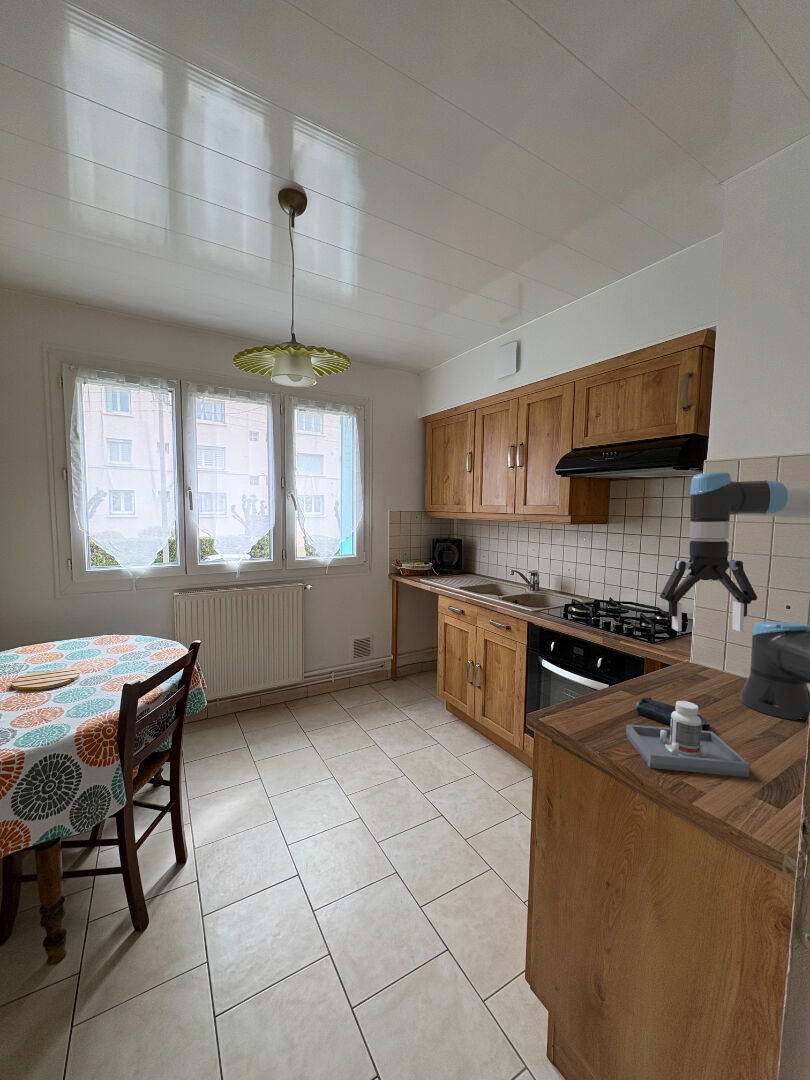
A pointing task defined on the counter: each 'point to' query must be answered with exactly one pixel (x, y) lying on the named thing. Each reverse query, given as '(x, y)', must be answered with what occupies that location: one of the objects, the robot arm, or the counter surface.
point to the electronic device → (661, 711)
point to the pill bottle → (686, 728)
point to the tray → (709, 760)
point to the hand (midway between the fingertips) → (706, 630)
